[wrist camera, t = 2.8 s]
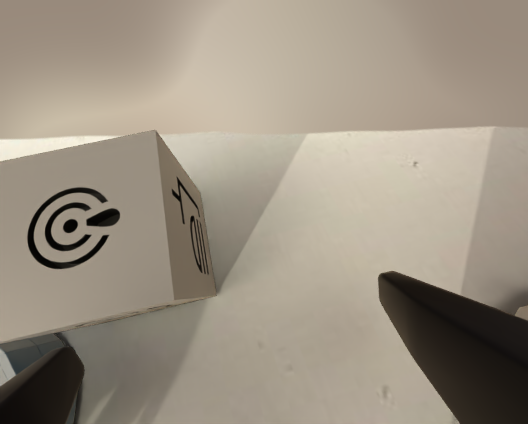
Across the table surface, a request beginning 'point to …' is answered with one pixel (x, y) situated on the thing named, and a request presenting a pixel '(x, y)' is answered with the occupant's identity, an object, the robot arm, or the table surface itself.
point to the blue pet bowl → (27, 358)
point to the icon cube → (98, 236)
